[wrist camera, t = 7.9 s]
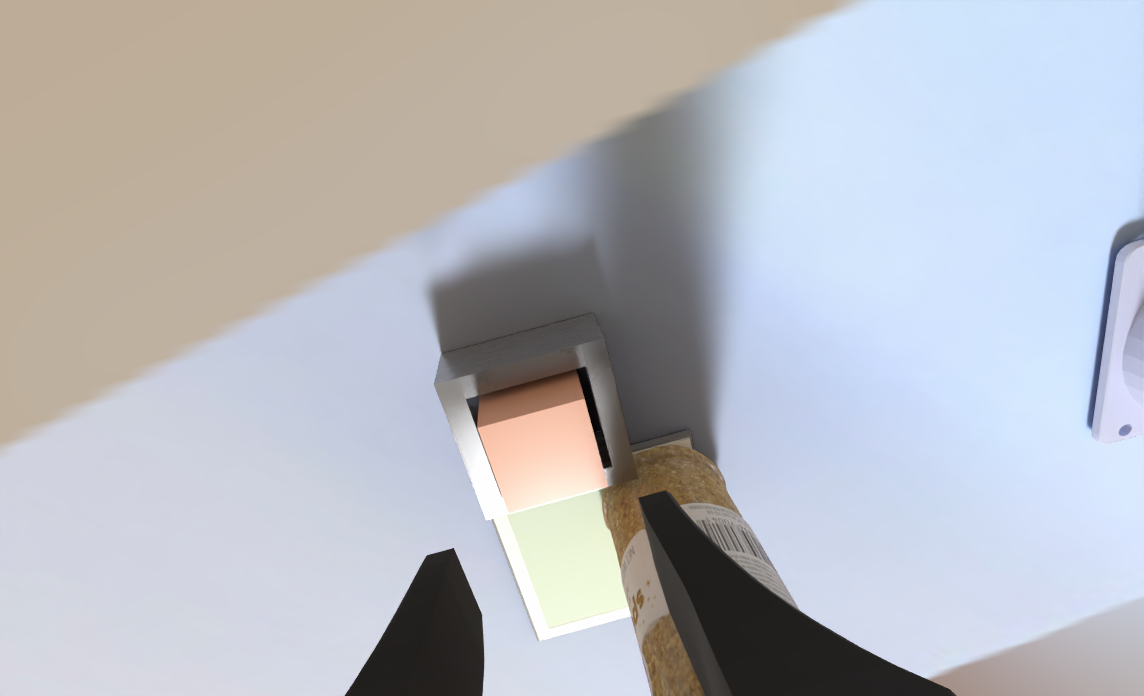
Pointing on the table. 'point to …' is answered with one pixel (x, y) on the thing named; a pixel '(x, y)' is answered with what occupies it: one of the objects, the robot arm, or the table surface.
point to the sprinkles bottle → (655, 630)
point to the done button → (540, 441)
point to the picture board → (569, 558)
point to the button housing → (522, 363)
